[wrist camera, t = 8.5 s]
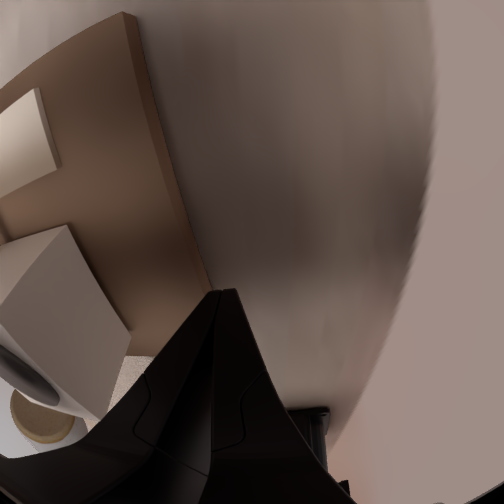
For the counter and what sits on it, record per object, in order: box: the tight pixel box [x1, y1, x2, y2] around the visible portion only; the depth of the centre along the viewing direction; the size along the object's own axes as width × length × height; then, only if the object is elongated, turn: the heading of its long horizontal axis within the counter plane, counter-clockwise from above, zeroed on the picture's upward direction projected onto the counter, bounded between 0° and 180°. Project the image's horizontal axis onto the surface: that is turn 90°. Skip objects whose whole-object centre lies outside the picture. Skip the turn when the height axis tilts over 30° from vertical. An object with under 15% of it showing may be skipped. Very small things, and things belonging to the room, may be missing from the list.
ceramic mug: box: [10, 389, 88, 453], centre depth 18 cm, size 11×8×8 cm
